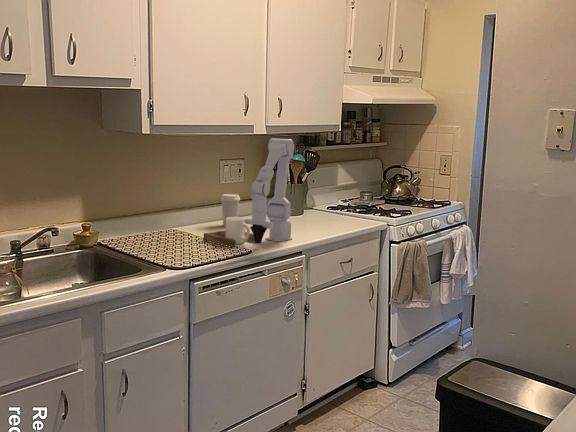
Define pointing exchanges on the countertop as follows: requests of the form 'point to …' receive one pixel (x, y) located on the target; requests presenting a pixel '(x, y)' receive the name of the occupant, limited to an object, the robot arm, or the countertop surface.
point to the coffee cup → (229, 206)
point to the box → (223, 238)
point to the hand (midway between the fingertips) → (258, 243)
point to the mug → (237, 229)
